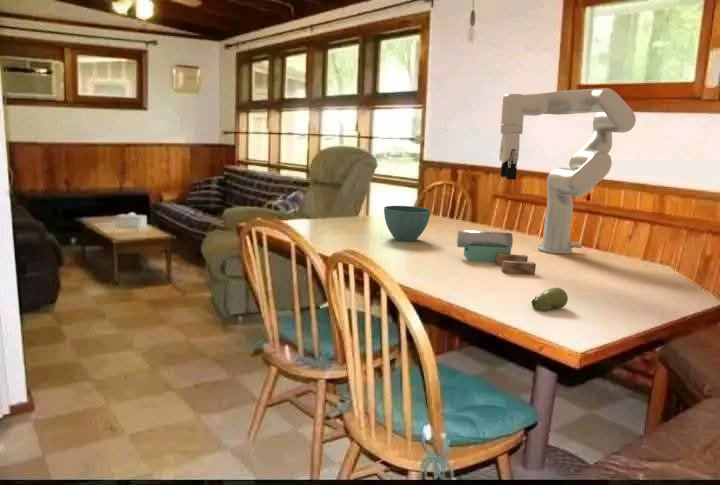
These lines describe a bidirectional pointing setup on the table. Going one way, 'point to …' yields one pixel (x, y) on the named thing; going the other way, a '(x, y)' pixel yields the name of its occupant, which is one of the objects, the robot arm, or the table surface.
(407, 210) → the teal bowl
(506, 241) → the steel axle
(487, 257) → the teal V-block
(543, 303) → the pear
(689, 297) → the table surface
